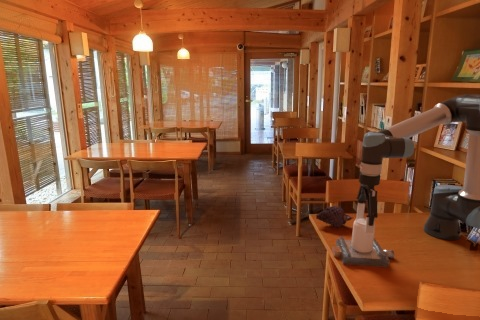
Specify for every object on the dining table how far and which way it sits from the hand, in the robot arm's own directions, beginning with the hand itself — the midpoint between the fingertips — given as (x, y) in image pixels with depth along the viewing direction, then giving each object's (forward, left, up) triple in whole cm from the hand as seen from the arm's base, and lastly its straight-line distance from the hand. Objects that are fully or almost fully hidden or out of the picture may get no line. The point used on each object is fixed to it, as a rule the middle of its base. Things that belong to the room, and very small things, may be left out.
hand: (364, 225), depth 133 cm
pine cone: (+6, -28, -14) cm, 32 cm away
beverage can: (0, 0, -11) cm, 11 cm away
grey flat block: (0, 0, -13) cm, 13 cm away
